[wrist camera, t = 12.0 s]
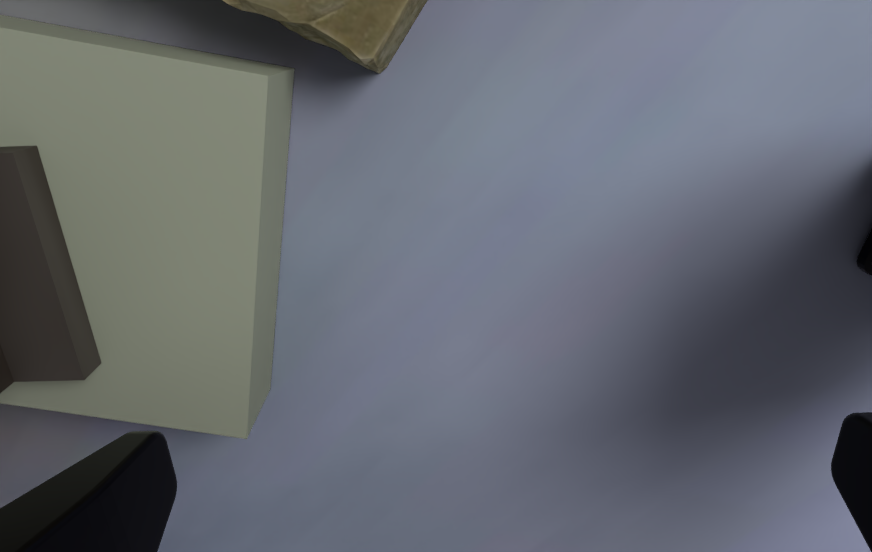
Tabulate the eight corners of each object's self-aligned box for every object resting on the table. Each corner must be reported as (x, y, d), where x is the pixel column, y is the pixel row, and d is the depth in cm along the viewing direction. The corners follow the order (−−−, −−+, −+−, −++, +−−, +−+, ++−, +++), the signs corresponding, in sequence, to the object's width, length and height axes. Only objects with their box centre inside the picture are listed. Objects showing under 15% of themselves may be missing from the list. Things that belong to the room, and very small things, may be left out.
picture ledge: (294, 68, 18) (257, 79, 15) (270, 389, 23) (237, 458, 19) (-177, -18, 17) (-342, -29, 14) (-103, 333, 22) (-212, 394, 18)
